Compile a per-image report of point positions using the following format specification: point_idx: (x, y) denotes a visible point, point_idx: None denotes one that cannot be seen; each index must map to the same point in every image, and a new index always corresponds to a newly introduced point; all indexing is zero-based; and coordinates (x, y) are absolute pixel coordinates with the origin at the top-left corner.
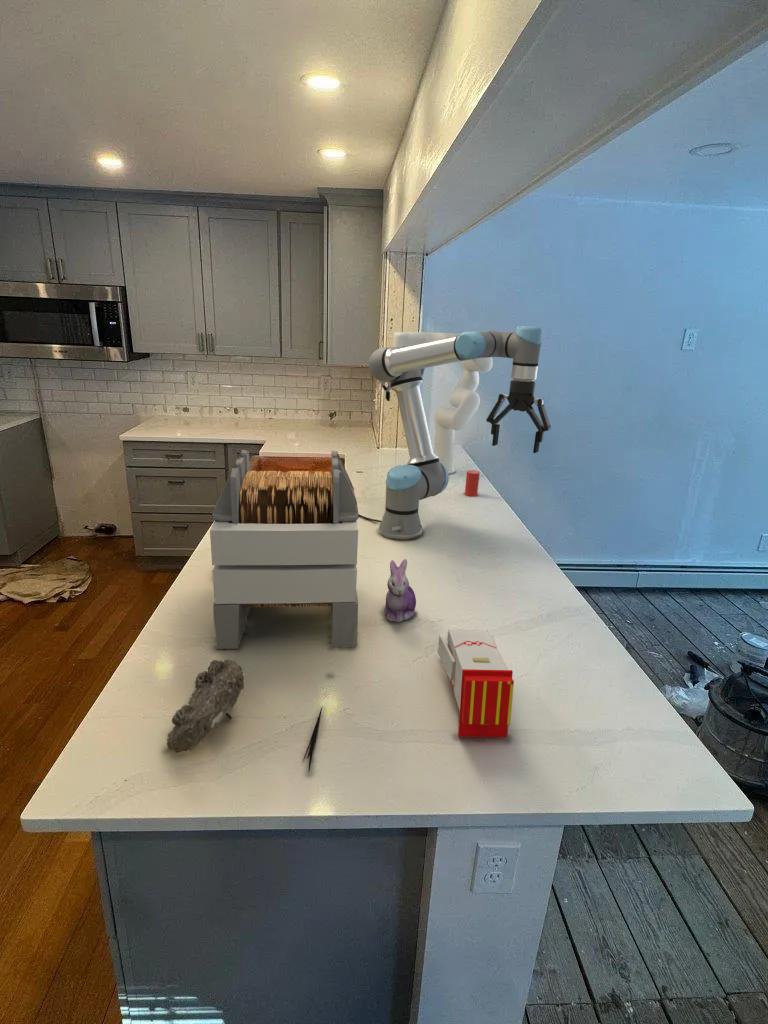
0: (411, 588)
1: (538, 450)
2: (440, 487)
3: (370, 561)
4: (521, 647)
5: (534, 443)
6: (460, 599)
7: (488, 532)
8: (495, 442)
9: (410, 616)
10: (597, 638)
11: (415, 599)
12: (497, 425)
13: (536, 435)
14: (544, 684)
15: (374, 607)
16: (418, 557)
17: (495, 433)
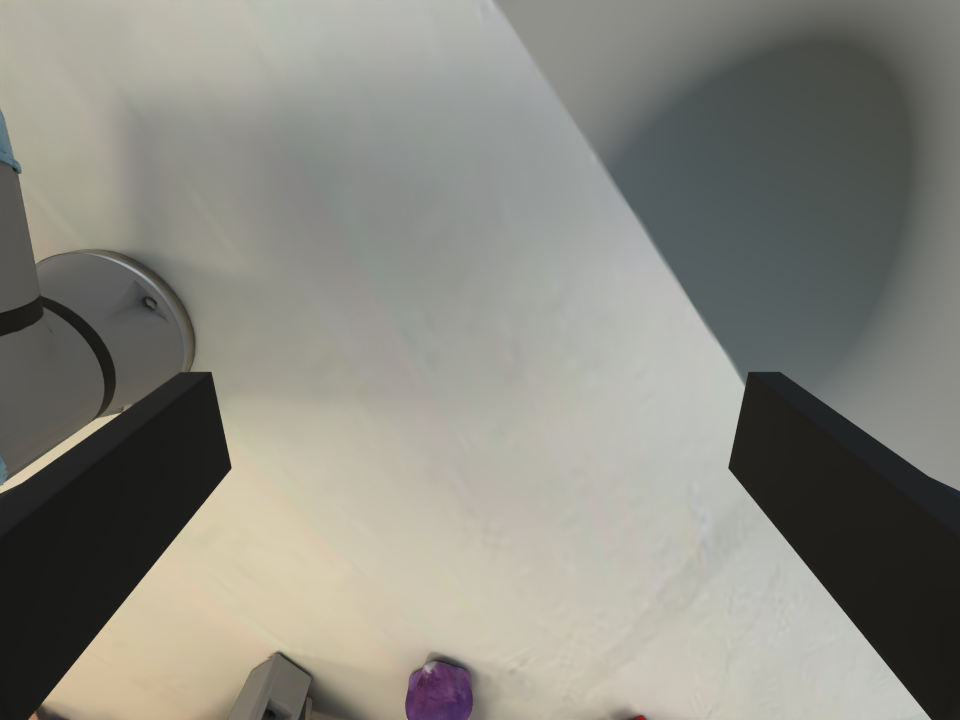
0: (451, 716)
1: (787, 378)
2: (5, 187)
3: (226, 550)
4: (692, 655)
5: (795, 546)
6: (518, 580)
7: (352, 84)
8: (207, 466)
9: (471, 687)
10: None
11: (468, 702)
12: (2, 691)
13: (905, 659)
14: (749, 712)
15: (391, 688)
16: (301, 459)
17: (129, 588)
